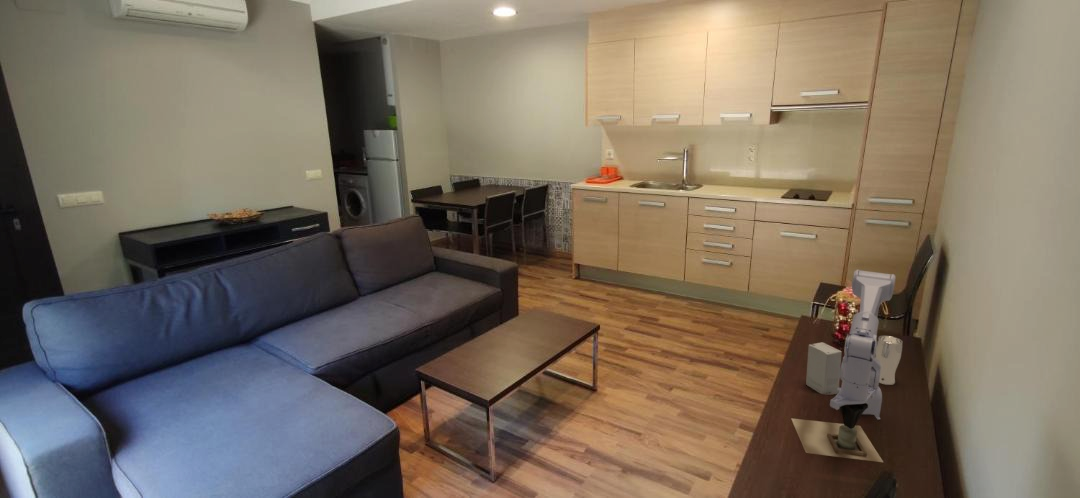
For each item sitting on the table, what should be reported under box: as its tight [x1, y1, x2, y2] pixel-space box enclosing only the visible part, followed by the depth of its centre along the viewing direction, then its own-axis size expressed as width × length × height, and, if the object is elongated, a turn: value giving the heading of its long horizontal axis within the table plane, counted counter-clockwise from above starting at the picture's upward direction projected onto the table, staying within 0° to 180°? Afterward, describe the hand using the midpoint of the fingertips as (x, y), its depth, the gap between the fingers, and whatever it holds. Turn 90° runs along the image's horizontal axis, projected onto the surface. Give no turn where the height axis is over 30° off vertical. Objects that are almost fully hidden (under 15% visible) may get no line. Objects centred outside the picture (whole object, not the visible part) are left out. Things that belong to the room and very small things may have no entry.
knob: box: [837, 425, 857, 450], centre depth 130 cm, size 4×4×5 cm
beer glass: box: [875, 335, 904, 386], centre depth 163 cm, size 7×7×15 cm
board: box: [790, 418, 884, 463], centre depth 134 cm, size 18×16×2 cm
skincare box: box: [805, 342, 843, 396], centre depth 159 cm, size 8×6×15 cm
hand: (848, 426), depth 129 cm, fingers closed
